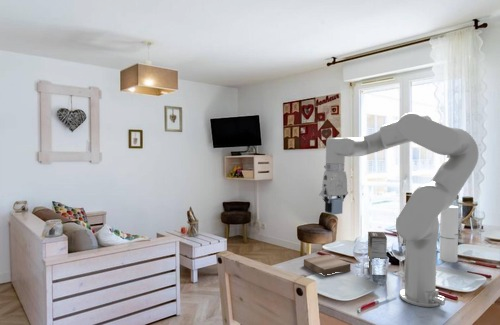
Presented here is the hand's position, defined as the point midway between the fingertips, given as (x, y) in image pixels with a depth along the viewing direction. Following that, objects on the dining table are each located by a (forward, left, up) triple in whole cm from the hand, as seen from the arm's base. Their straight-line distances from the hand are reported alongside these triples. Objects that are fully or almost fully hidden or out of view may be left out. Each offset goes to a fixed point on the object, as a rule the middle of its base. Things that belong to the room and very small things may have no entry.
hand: (333, 210), depth 140 cm
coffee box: (-8, -17, -26) cm, 32 cm away
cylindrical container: (-13, -58, -26) cm, 65 cm away
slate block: (0, 0, -1) cm, 1 cm away
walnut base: (+5, -1, -26) cm, 27 cm away
